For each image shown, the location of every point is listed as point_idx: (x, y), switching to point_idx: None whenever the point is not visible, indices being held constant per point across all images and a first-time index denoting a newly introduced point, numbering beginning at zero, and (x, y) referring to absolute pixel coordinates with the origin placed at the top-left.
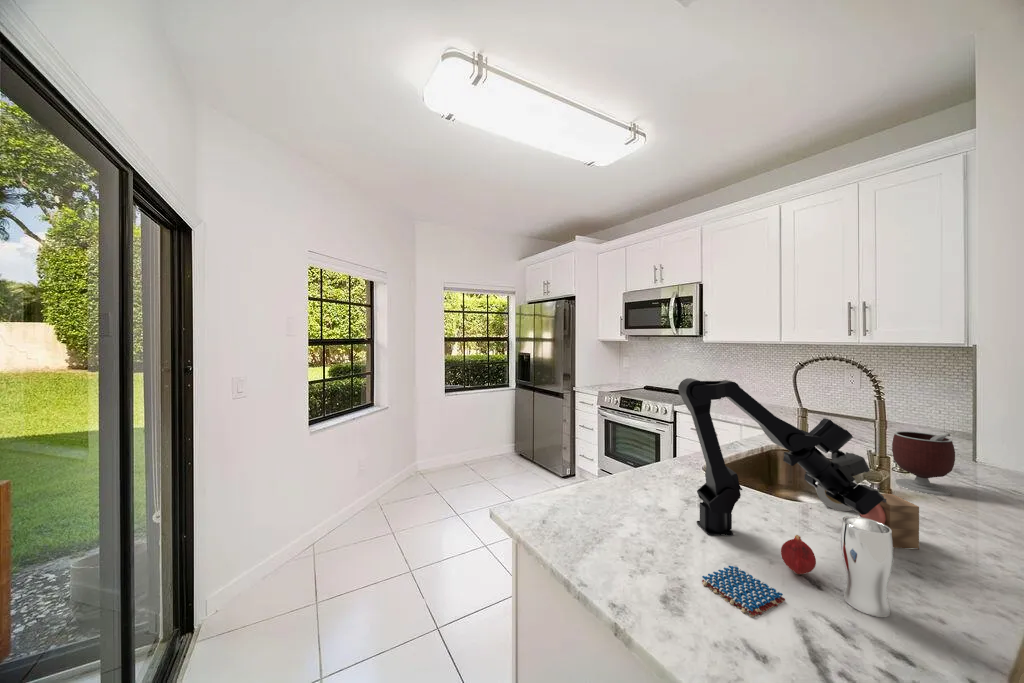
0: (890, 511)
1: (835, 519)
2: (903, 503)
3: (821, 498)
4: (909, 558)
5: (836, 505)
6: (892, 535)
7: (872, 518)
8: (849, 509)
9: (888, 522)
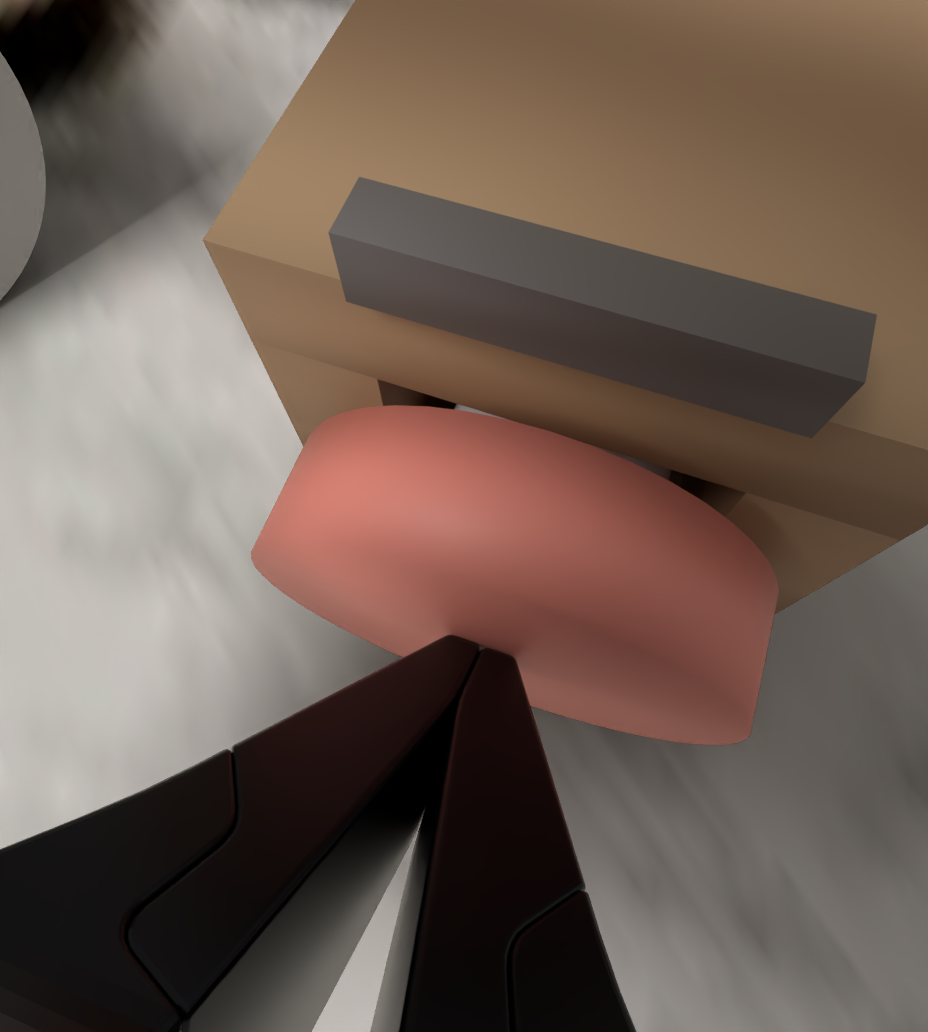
0: (907, 535)
1: (53, 586)
2: (891, 93)
3: None
4: (876, 721)
5: None
6: None
7: (581, 703)
8: (12, 266)
9: None
